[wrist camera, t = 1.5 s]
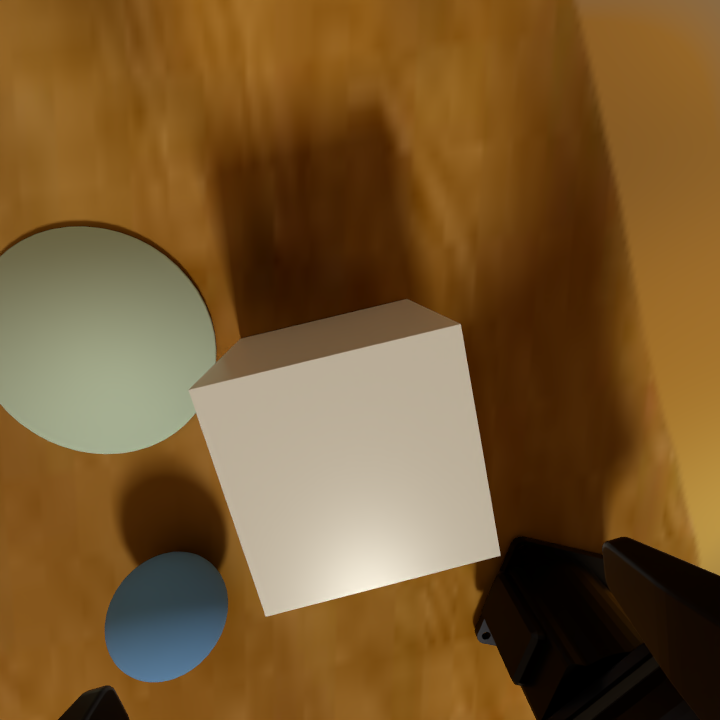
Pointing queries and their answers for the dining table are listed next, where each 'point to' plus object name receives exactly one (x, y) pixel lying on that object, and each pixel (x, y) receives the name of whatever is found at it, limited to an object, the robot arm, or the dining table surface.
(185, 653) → the ball
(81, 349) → the disc
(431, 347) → the white block
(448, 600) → the dining table surface
